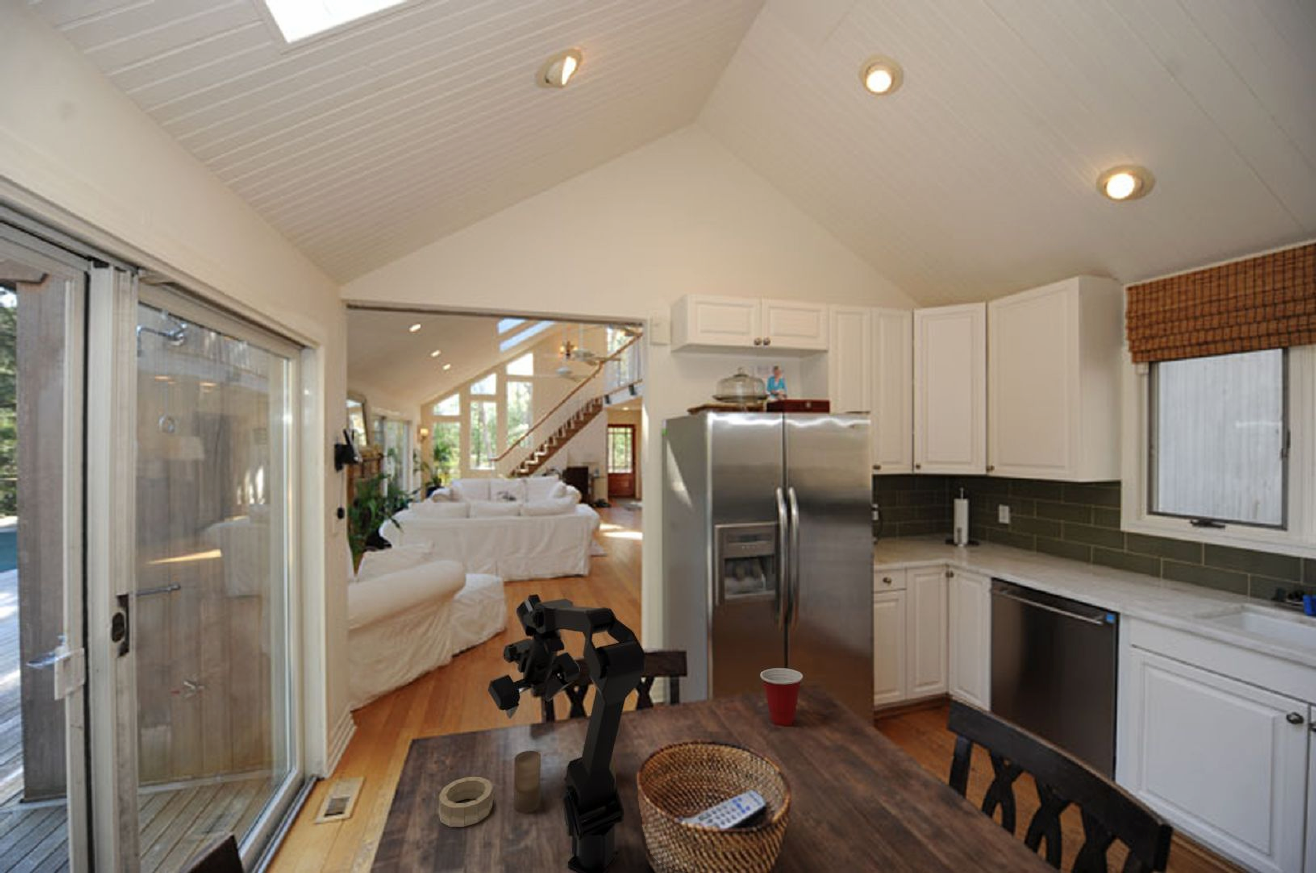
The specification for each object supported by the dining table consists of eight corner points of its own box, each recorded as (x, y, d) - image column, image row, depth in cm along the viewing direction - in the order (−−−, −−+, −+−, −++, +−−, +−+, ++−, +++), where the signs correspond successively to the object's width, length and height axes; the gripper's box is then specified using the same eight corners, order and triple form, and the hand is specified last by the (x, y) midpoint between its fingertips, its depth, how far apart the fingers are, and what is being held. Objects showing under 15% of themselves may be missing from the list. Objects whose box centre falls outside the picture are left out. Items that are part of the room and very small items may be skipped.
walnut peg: (545, 801, 108) (546, 754, 108) (528, 816, 103) (528, 767, 104) (525, 793, 110) (526, 748, 111) (508, 807, 106) (509, 760, 106)
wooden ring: (501, 803, 107) (502, 785, 107) (464, 833, 99) (464, 813, 99) (467, 789, 111) (467, 772, 111) (428, 816, 103) (428, 797, 103)
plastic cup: (777, 706, 149) (777, 662, 150) (811, 721, 141) (811, 674, 141) (751, 718, 142) (751, 671, 143) (785, 735, 134) (785, 685, 135)
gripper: (561, 614, 123) (547, 666, 128) (482, 639, 110) (470, 696, 116) (588, 648, 116) (572, 702, 121) (508, 679, 103) (494, 738, 109)
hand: (528, 708), depth 117 cm, fingers open, 9 cm apart
